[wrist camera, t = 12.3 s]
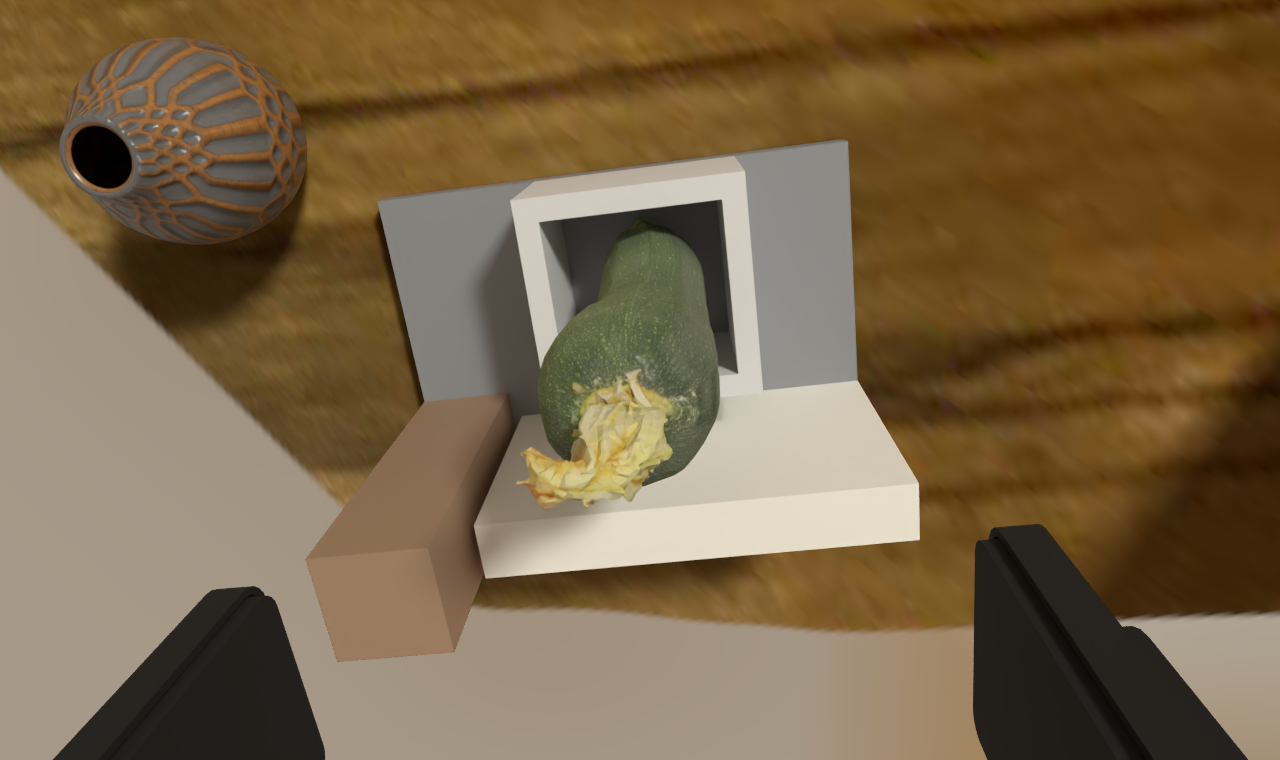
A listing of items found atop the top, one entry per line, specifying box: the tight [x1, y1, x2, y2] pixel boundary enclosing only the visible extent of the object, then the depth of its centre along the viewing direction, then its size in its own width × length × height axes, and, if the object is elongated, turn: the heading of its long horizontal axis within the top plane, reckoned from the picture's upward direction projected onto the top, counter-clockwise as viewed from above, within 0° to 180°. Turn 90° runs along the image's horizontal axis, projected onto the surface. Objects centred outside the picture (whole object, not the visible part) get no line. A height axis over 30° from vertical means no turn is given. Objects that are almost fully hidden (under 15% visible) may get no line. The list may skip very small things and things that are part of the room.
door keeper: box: [306, 139, 920, 662], centre depth 28 cm, size 18×12×13 cm, turn 97°
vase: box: [59, 37, 307, 245], centre depth 28 cm, size 7×7×9 cm
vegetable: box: [516, 217, 720, 510], centre depth 23 cm, size 4×4×20 cm
